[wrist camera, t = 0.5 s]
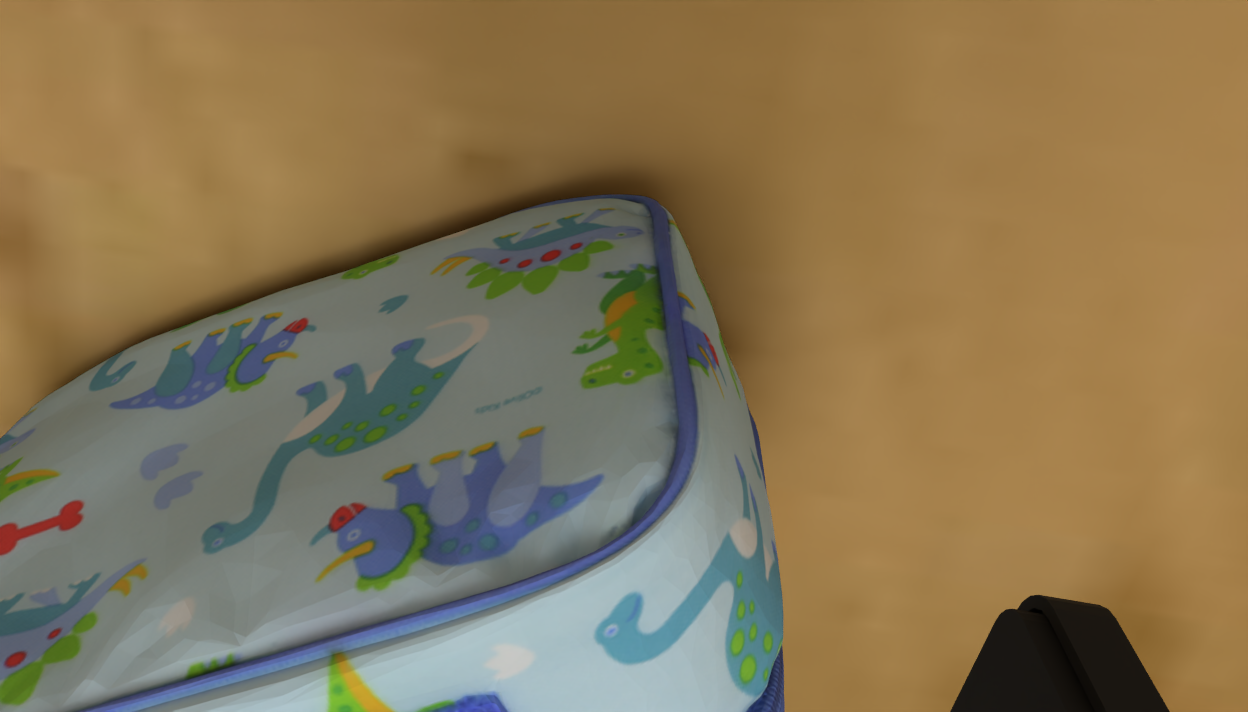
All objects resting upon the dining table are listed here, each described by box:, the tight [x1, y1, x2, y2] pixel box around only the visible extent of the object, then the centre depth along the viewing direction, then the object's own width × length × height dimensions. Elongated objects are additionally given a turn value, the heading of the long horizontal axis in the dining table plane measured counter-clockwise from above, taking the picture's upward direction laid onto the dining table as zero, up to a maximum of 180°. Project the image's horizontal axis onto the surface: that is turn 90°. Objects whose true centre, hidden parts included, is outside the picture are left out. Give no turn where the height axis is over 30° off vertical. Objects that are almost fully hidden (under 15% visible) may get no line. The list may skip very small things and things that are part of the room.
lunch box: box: [0, 195, 784, 712], centre depth 34 cm, size 26×11×21 cm, turn 110°
